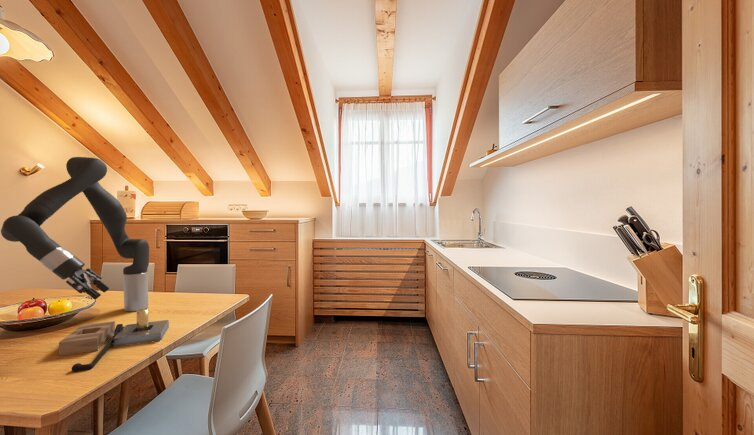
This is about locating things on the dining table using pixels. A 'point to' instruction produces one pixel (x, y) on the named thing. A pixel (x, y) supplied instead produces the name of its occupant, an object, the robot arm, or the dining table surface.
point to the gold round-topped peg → (142, 320)
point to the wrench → (89, 366)
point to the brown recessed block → (87, 338)
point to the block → (141, 333)
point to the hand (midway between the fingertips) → (102, 293)
